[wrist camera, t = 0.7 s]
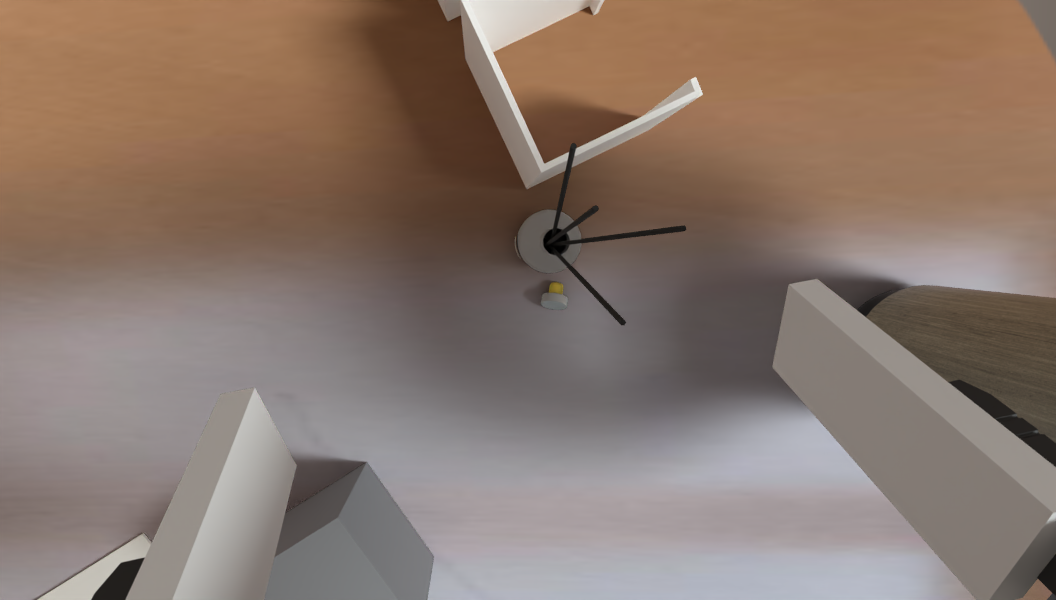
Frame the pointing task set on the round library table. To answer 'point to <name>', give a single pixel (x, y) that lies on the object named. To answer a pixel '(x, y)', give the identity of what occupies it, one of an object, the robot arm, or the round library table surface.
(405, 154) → the round library table surface
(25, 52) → the round library table surface
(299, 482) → the round library table surface
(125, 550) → the white flat square plate
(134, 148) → the round library table surface
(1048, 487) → the robot arm
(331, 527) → the block
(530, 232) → the reed diffuser
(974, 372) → the lamp
